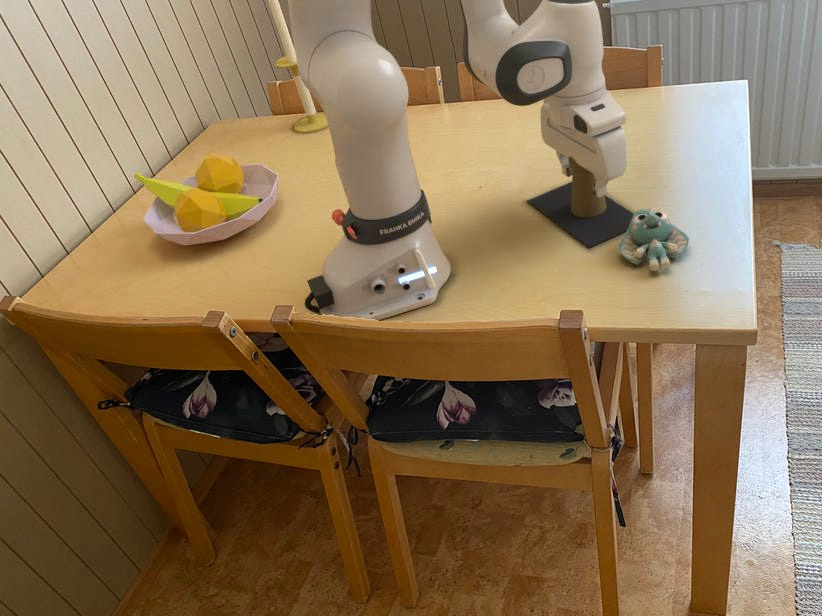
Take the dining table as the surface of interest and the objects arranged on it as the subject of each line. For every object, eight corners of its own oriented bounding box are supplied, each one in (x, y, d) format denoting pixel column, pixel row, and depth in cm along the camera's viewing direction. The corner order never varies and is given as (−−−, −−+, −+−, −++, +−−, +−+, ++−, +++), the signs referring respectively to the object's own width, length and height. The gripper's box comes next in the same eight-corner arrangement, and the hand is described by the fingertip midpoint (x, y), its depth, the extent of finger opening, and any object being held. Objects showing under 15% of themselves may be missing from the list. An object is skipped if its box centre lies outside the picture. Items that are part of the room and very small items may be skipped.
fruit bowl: (315, 198, 150) (296, 145, 143) (213, 273, 135) (186, 218, 127) (225, 179, 164) (204, 131, 157) (124, 245, 149) (96, 195, 142)
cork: (605, 216, 125) (600, 156, 118) (569, 218, 127) (562, 158, 119) (607, 198, 129) (603, 138, 122) (573, 200, 131) (566, 141, 124)
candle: (294, 120, 184) (244, -22, 163) (334, 110, 184) (288, -33, 163) (294, 136, 176) (241, -11, 155) (335, 126, 176) (288, -22, 155)
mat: (589, 248, 119) (588, 247, 119) (527, 202, 134) (527, 200, 134) (646, 223, 122) (645, 221, 122) (579, 180, 136) (579, 178, 136)
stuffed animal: (622, 253, 107) (610, 198, 115) (624, 287, 113) (612, 233, 120) (699, 241, 106) (681, 187, 113) (696, 276, 112) (680, 222, 119)
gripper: (527, 92, 123) (536, 169, 131) (596, 130, 108) (602, 214, 117) (560, 80, 124) (567, 157, 133) (632, 116, 109) (635, 200, 118)
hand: (584, 184), depth 125 cm, fingers open, 8 cm apart
